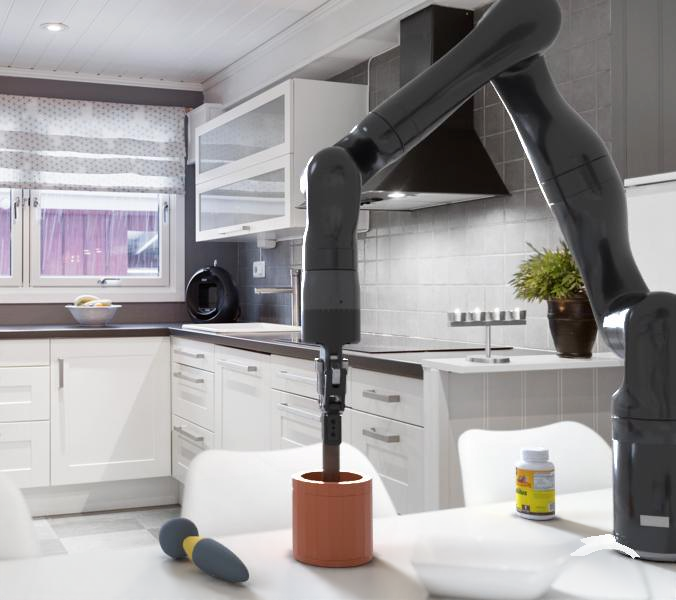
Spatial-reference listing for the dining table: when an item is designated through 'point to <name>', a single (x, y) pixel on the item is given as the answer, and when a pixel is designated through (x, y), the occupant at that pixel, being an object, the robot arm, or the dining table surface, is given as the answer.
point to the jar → (332, 519)
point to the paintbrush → (201, 550)
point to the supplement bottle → (535, 484)
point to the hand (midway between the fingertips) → (331, 442)
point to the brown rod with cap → (330, 460)
